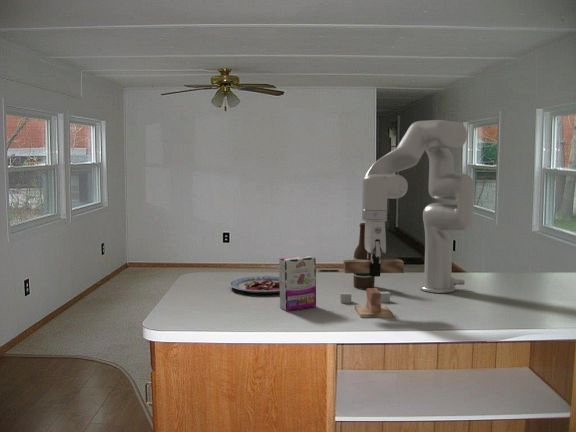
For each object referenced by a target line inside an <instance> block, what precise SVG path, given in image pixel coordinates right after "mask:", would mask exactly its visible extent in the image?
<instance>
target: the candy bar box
mask: <svg viewBox="0 0 576 432" xmlns="http://www.w3.org/2000/svg"><path fill="white" fill-rule="evenodd" d="M278 262H279V263H278V267H279V272H278V273H279V276H278V277H279V278H280V292H279V308H280V309H281V310H283V311H285V312H290V311H291V312H292V311H297V310H305V309H311V308H316V307H317V276H316V275H317V271H316V270H317V269H316V267H317V266H316V263H317V262H316V257H315V256H312V255H302V256H301V255H299V256H290V257H281V258H278Z"/></svg>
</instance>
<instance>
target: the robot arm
mask: <svg viewBox="0 0 576 432" xmlns="http://www.w3.org/2000/svg"><path fill="white" fill-rule="evenodd" d="M467 138H468V131H467V128H466V127H465V125H464V124H463V123H461V122H458V121H453V120H452V121H451V120H445V119H433V120H432V119H431V120H428V119H427V120H418V121H414V122H412V123H411V124H410V125H409V127H408V129H407V131H406V132H405V133H404V135H403V136H402V138H401V140H400V141H399V142H398V144H397V146H396V148H395V149H393V150H391V151H389V152H388V153H387V154H385V155H383V156H381V157H380V158H379V159H377V160H376V161H375V162H374V163H373V164H372V165H371V167H370V168H369V169H368V171H367V172H366V174H365V176H363V179H362V199H361V201H362V207H361V208H362V209H361V210H362V211H361V213H362V214H361V215H362V216H361V217H362V218H361V221H363V222H364V223H365V249H366V250H367V251H368V253H367V260H371V263H370V273H367V274H370V276H371V277H375V278H376V277H378V278H379V277H381V273H380V268H381V260H382V259H381V256H382V255H381V254H386V252H387V239H386V237H387V235H386V222H387V221H388V199H393V200H394V199H400V198H402V197H404V196H405V195H406V193H407V192H408V189H409V185H408V180H407V179H406V178H405V177H404V176H402V175H400V174H395V173H398V172H400V171H401V172H402V171H404V170H407V169H410V168H413V167H414V166H416V165H417V164H418V163H419V162H420V161H421V158H422V156H423V154H424V153H425V152H426V155H427V157H428V160H429V162H428V163H429V165H428V166H429V168H428V169H429V170H428V171H429V173H428V194H429V196H430V197H431V198H432V199H436V200H448V201H451V200H452V201H456V203H448V202H447V203H446V202H444V203H443V202H433V203H429V204H428V205H426V206H425V207H424V208H423V211H422V220H423V228H424V241H425V242H424V279H423V280H424V281H423V283H421V284H420V285H419V289H420V290H421V291H424V292H427V293H432V294H433V293H434V294H437V293H438V294H447V293H453V292H456V286H457V285H459V286H463V285H465V279H460V278H454V277H453V276H452V261H453V259H452V258H453V241H452V237H451V236H450V234H449V232H448V231H451V232H467V231H469V230H470V229H471V227H472V225H473V220H474V207H475V206H474V205H475V204H474V203H475V182H474V180H473V177H472V176H471V175H470V174H468V173H464V172H458V173H457V172H455V169H454V168H455V166H454V164H455V159H454V156H453V154H452V152H451V151H450V148H452V149H453V148H454V149H455V148H461V147H463V146H464V145H465V143H466V142H467Z"/></svg>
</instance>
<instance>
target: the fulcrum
mask: <svg viewBox="0 0 576 432" xmlns="http://www.w3.org/2000/svg"><path fill="white" fill-rule="evenodd" d="M380 292H381V291H379V290H378V288H377V287H373V288H367V289H366V305H354V310H355V312H356V313H357V314H358V316H359V318H394V312H393V311H391V309H390V308H389V307H388V306H387V305H382V302H381V293H380Z"/></svg>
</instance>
